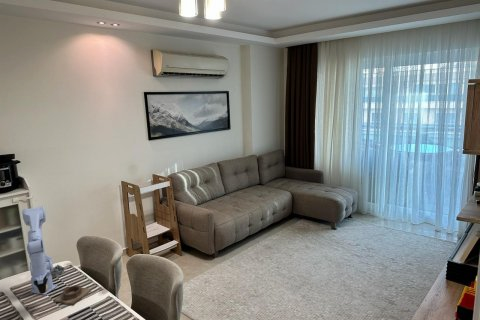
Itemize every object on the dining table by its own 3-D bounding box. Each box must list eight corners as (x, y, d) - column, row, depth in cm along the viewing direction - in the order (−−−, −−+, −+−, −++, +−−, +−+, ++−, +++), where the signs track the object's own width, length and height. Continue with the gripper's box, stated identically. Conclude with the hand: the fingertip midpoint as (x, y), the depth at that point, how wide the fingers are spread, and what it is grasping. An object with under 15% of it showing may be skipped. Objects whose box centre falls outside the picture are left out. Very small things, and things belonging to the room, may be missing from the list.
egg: (35, 295, 153) (34, 286, 152) (43, 289, 157) (42, 281, 156) (43, 296, 152) (41, 288, 151) (51, 291, 156) (49, 282, 155)
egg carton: (47, 282, 175) (46, 275, 175) (40, 278, 179) (39, 272, 178) (66, 272, 184) (65, 266, 183) (59, 269, 188) (58, 263, 187)
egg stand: (53, 301, 158) (52, 295, 157) (72, 287, 169) (71, 281, 168) (73, 305, 154) (72, 299, 154) (91, 291, 166) (90, 284, 165)
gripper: (48, 268, 147) (52, 294, 150) (48, 255, 159) (52, 280, 162) (30, 273, 144) (35, 300, 146) (31, 259, 156) (35, 284, 159)
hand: (43, 290), depth 154 cm, fingers closed on egg, 5 cm apart
